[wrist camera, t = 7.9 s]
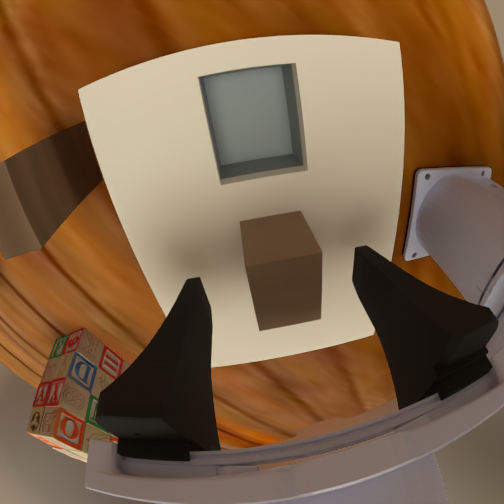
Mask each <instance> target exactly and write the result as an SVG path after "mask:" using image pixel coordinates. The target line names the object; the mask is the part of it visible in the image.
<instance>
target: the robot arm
mask: <svg viewBox="0 0 504 504" xmlns="http://www.w3.org/2000/svg"><path fill="white" fill-rule="evenodd" d="M491 172H492V171H491V168H489V167H487V166H477V167H446V168H427V169H419V170H418V171H417V172H416V174H415V182H414V191H413V199H412V207H411V214H410V220H409V226H408V232H407V238H406V243H405V248H404V253H403V257H404V259H405V260H406V261H409V260H413V259H417V258H421V257H425V256H429V255H430V256H431V257H432V258H433V260H434V261H435V262H436V263H437V264H438V265H439V267H440V268H441V269H442V270H443V271H444V273H445V274H446V275H447V276H448V278H449V279H450V280H451V281H452V283H453V284H454V285H455V286H456V288H457V289H458V290H459V292H460V293H461V294H462V295H463V297H464V298H465V299H466V301H464V300H461V299H458V298H456V297H453V296H451V295H448V294H446V293H444V292H441V291H439V290H437V289H435V288H433V287H431V286H429V285H427V284H425V283H424V282H422V281H420V280H418V279H417V278H415V277H413V276H412V275H410V274H409V273H407V272H405V271H404V270H402V269H401V268H399V267H398V266H396V265H395V264H393V263H392V262H391V261H389V260H388V259H386V258H385V257H383V256H382V255H380V254H379V253H378V252H376V251H375V250H373V249H372V248H370V247H369V246H367V245H365V246H360V247H355V252H354V263H353V273H352V282H353V285H354V288H355V290H356V293H357V295H358V298H359V300H360V302H361V304H362V305H363V307H364V309H365V311H366V313H367V315H368V317H369V319H370V321H371V323H372V324H373V326H374V328H375V330H376V332H377V334H378V336H379V339H380V341H381V344H382V347H383V349H384V352H385V355H386V358H387V361H388V365H389V368H390V371H391V375H392V379H393V383H394V387H395V391H396V396H397V401H398V407H399V410H398V411H395V412H393V413H390V414H388V415H385V416H382V417H380V418H377V419H374V420H371V421H369V422H366V423H362V424H359V425H356V426H353V427H349V428H346V429H343V430H339V431H336V432H332V433H328V434H324V435H320V436H316V437H311V438H307V439H302V440H297V441H292V442H287V443H281V444H275V445H268V446H261V447H253V448H244V449H234V450H221V449H220V443H219V438H218V432H217V426H216V419H215V411H214V403H213V393H212V381H211V355H212V333H213V324H212V310H211V305H210V303H209V300H208V297H207V295H206V292H205V289H204V287H203V284H202V281H201V278H200V277H196V278H190V279H187V280H186V281H185V283H184V285H183V287H182V289H181V291H180V293H179V295H178V297H177V299H176V301H175V303H174V305H173V306H172V308H171V310H170V312H169V314H168V315H167V317H166V319H165V320H164V322H163V324H162V325H161V327H160V329H159V330H158V332H157V333H156V335H155V336H154V337H153V339H152V340H151V342H150V343H149V344H148V346H147V347H146V348H145V349H144V351H143V352H142V353H141V354H140V355H139V356H138V358H137V359H136V360H135V361H134V362H133V363H132V364H131V365H130V366H129V367H128V368H127V369H126V370H125V371H124V372H123V373H122V374H121V375H120V376H119V377H118V378H117V379H116V380H114V381H113V382H112V383H111V384H110V385H108V386H107V387H106V388H105V389H104V390H102V391H101V392H100V395H99V399H98V404H97V410H96V416H95V421H96V423H97V424H98V425H99V426H100V427H102V428H103V429H105V430H106V431H108V432H109V433H111V434H113V435H114V436H116V437H118V444H117V443H114V442H110V441H103V440H97V439H90V441H89V448H88V457H87V467H86V478H85V487H86V488H87V489H91V490H94V491H98V492H101V493H105V494H109V495H113V496H118V497H122V498H127V499H132V500H138V501H144V502H150V503H158V504H449V500H448V496H447V493H446V489H445V486H444V482H443V479H442V476H441V472H440V469H439V466H438V463H437V460H436V457H435V454H434V452H436V451H438V450H440V449H441V448H443V447H445V446H447V445H448V444H450V443H452V442H453V441H455V440H457V439H458V438H460V437H462V436H463V435H464V434H466V433H468V432H469V431H471V430H472V429H474V428H475V427H477V426H478V425H480V424H481V423H482V422H484V421H485V420H486V419H488V418H489V417H491V416H492V415H493V414H494V413H496V412H497V411H498V410H500V409H501V408H502V407H503V406H504V188H503V187H502V186H500V185H499V184H497V183H496V182H494V181H493V180H491ZM426 174H427V177H426V178H425V176H426ZM413 253H414V254H413ZM396 429H397V430H396ZM394 430H395V432H394V433H392V434H389V435H386V436H384V437H381V438H378V439H375V440H373V441H370V442H367V443H364V444H361V445H358V446H354V447H351V448H348V449H345V450H341V451H338V452H334V453H330V454H326V455H322V456H318V457H315V458H311V459H307V460H304V461H301V462H298V463H294V464H290V465H285V466H281V467H275V468H270V469H265V470H259V467H257V466H254V465H261V464H269V463H277V462H282V461H289V460H294V459H299V458H304V457H309V456H313V455H318V454H322V453H326V452H330V451H334V450H337V449H341V448H344V447H348V446H351V445H354V444H358V443H361V442H364V441H367V440H370V439H372V438H375V437H378V436H381V435H383V434H386V433H389V432H391V431H394Z"/></svg>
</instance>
